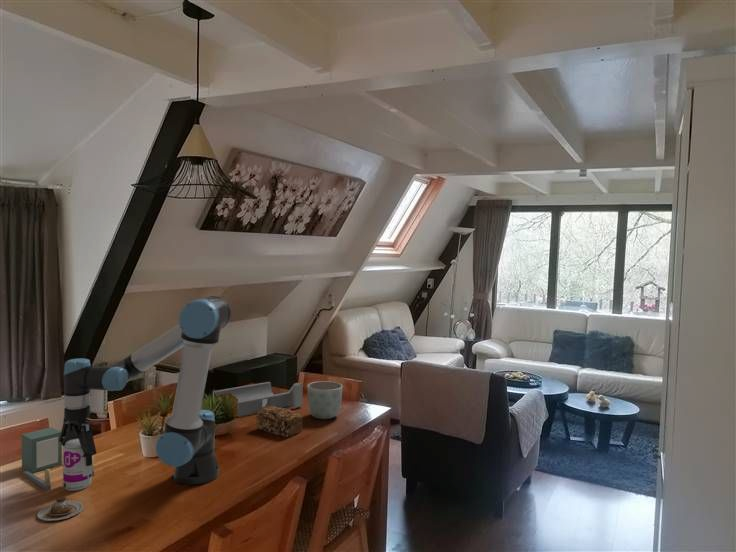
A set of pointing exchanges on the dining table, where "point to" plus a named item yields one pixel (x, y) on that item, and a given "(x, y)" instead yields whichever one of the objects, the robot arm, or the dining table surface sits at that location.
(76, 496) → the dining table surface
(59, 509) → the pastry
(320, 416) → the planter
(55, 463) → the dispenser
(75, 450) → the supplement can
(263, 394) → the grey channel bracket
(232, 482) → the dining table surface
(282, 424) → the bread
